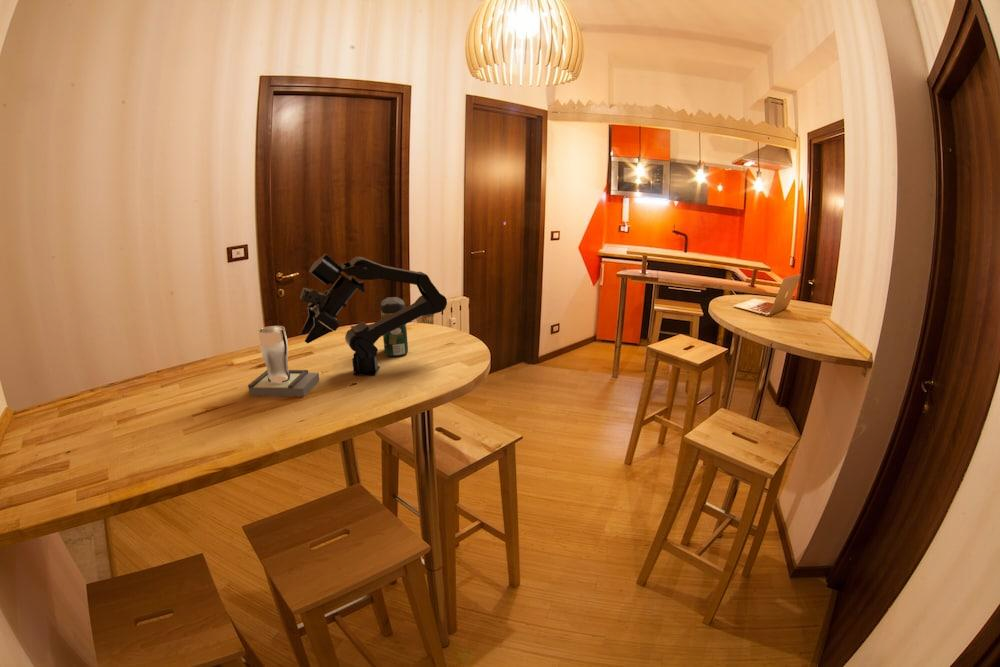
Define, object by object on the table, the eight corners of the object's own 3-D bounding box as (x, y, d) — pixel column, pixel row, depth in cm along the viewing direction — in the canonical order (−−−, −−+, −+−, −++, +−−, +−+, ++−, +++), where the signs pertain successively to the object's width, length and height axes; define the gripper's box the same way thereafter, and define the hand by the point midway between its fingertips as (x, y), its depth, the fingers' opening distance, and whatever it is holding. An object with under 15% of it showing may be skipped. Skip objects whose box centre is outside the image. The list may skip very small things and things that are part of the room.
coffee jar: (384, 348, 173) (379, 296, 167) (407, 346, 175) (403, 294, 169) (384, 358, 164) (379, 303, 158) (409, 356, 166) (405, 301, 160)
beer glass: (297, 376, 143) (290, 325, 139) (284, 386, 137) (276, 333, 132) (274, 374, 144) (266, 325, 140) (260, 384, 138) (252, 332, 133)
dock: (319, 380, 147) (318, 370, 146) (304, 396, 137) (302, 385, 136) (269, 380, 148) (267, 369, 147) (250, 396, 137) (248, 385, 136)
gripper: (310, 272, 147) (276, 314, 145) (320, 282, 131) (281, 330, 129) (342, 294, 152) (309, 335, 151) (354, 307, 136) (318, 353, 135)
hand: (304, 338), depth 142 cm, fingers open, 9 cm apart
